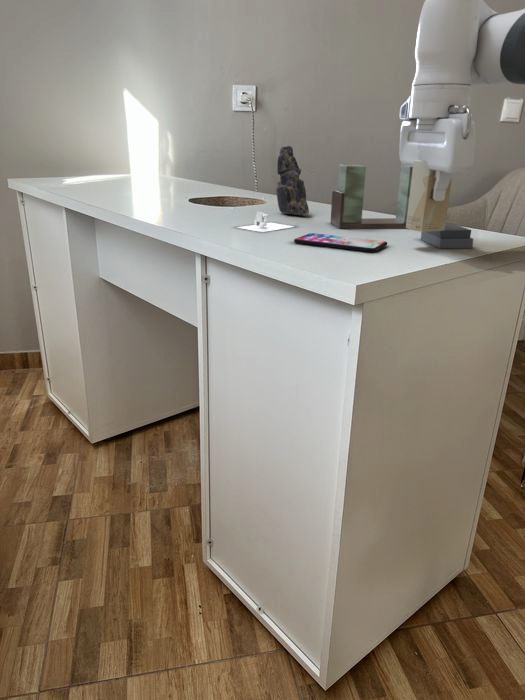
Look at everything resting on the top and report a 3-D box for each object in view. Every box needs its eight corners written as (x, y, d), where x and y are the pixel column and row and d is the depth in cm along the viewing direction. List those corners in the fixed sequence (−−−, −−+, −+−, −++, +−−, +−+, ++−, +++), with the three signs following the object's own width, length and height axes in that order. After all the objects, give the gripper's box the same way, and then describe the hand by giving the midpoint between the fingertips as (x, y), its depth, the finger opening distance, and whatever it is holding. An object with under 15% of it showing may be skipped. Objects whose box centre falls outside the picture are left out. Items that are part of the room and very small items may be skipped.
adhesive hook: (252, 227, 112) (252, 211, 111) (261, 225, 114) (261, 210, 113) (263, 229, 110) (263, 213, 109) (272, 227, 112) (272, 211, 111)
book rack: (414, 222, 122) (421, 165, 117) (428, 228, 115) (435, 167, 111) (330, 223, 119) (334, 164, 114) (339, 228, 112) (343, 166, 108)
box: (421, 232, 91) (429, 161, 87) (404, 228, 94) (411, 159, 90) (446, 230, 93) (455, 160, 89) (428, 226, 96) (436, 159, 92)
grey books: (451, 239, 103) (453, 223, 102) (472, 247, 96) (474, 230, 95) (420, 239, 103) (422, 223, 101) (439, 248, 95) (441, 230, 94)
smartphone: (374, 249, 90) (291, 239, 97) (374, 253, 90) (291, 243, 97) (389, 241, 96) (310, 232, 103) (388, 245, 96) (310, 236, 103)
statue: (295, 218, 124) (298, 147, 119) (270, 211, 134) (271, 145, 129) (316, 217, 127) (320, 147, 121) (290, 210, 137) (292, 145, 131)
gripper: (493, 104, 77) (478, 206, 83) (430, 108, 96) (421, 191, 101) (450, 104, 77) (438, 206, 82) (396, 108, 95) (388, 191, 100)
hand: (428, 198), depth 92 cm, fingers closed on box, 5 cm apart
